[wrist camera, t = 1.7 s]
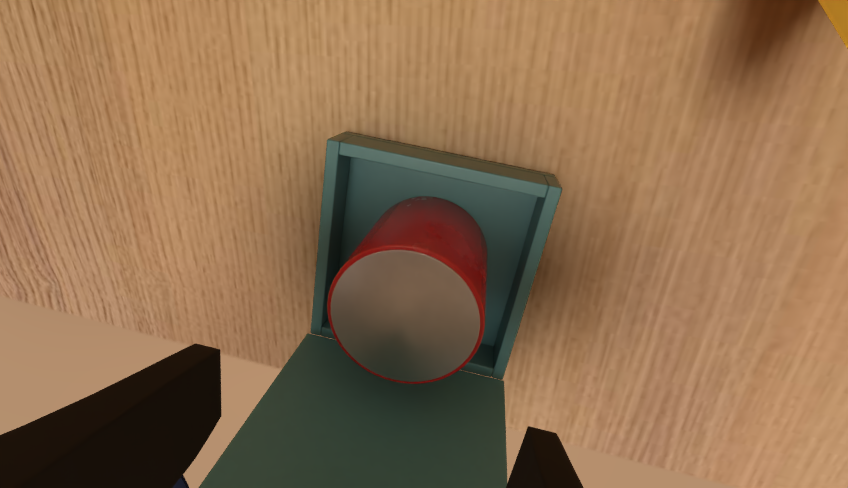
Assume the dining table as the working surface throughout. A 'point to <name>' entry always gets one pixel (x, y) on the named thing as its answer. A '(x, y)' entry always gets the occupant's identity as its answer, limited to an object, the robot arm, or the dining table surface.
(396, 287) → the can
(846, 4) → the teapot
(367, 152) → the teal square tray
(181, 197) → the dining table surface
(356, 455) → the teal box lid
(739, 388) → the dining table surface
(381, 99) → the dining table surface
